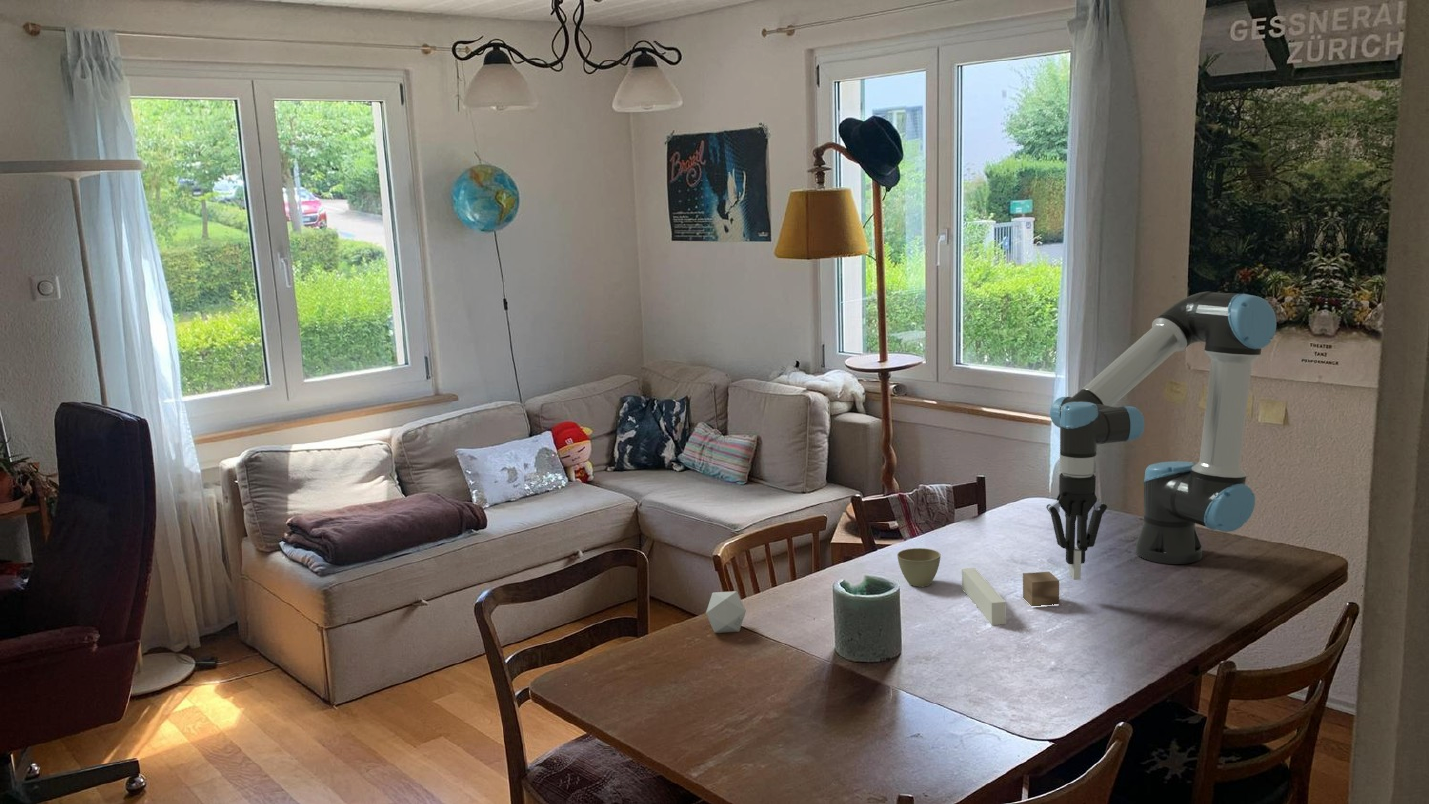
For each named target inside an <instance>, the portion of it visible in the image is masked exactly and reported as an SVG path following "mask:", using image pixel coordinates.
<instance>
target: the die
mask: <svg viewBox="0 0 1429 804" xmlns="http://www.w3.org/2000/svg"><path fill="white" fill-rule="evenodd" d="M708 602H709V603H708V606H707V608H706V611H705V615H706V617H707V619H708V621H709V624H710V626H711V628H712V630H713V632H714V634H720V633H736V632H737V633H739V632H740V630H741V627H742V623H743V621H744V619H745V614H746V612H747V610H746V608H745V605H744V604H743V601H742V598H741V596H740V595H739V593H738V591H737V590H736V591H735V590H733V591H717V592H716V591H715V592H712V593H711V597H710V600H709V601H708Z"/></svg>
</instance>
